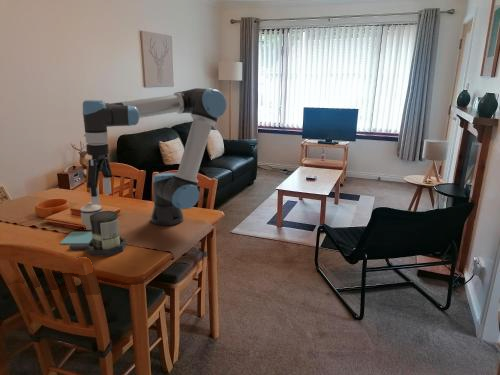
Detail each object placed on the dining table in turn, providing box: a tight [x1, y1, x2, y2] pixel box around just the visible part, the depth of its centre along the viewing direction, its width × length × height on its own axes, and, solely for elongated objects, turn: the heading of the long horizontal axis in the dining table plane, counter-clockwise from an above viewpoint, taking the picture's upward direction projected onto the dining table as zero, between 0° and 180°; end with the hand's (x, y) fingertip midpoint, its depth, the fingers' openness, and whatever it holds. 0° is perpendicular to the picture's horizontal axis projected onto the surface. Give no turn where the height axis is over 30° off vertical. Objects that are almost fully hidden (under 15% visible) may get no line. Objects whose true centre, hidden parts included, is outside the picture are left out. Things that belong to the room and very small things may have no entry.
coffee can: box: [90, 210, 121, 249], centre depth 141 cm, size 10×10×14 cm
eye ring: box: [68, 235, 127, 257], centre depth 142 cm, size 21×14×2 cm, turn 94°
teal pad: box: [59, 231, 92, 245], centre depth 152 cm, size 12×12×1 cm
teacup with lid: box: [79, 201, 103, 231], centre depth 164 cm, size 12×9×12 cm
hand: (102, 198), depth 137 cm, fingers open, 13 cm apart
